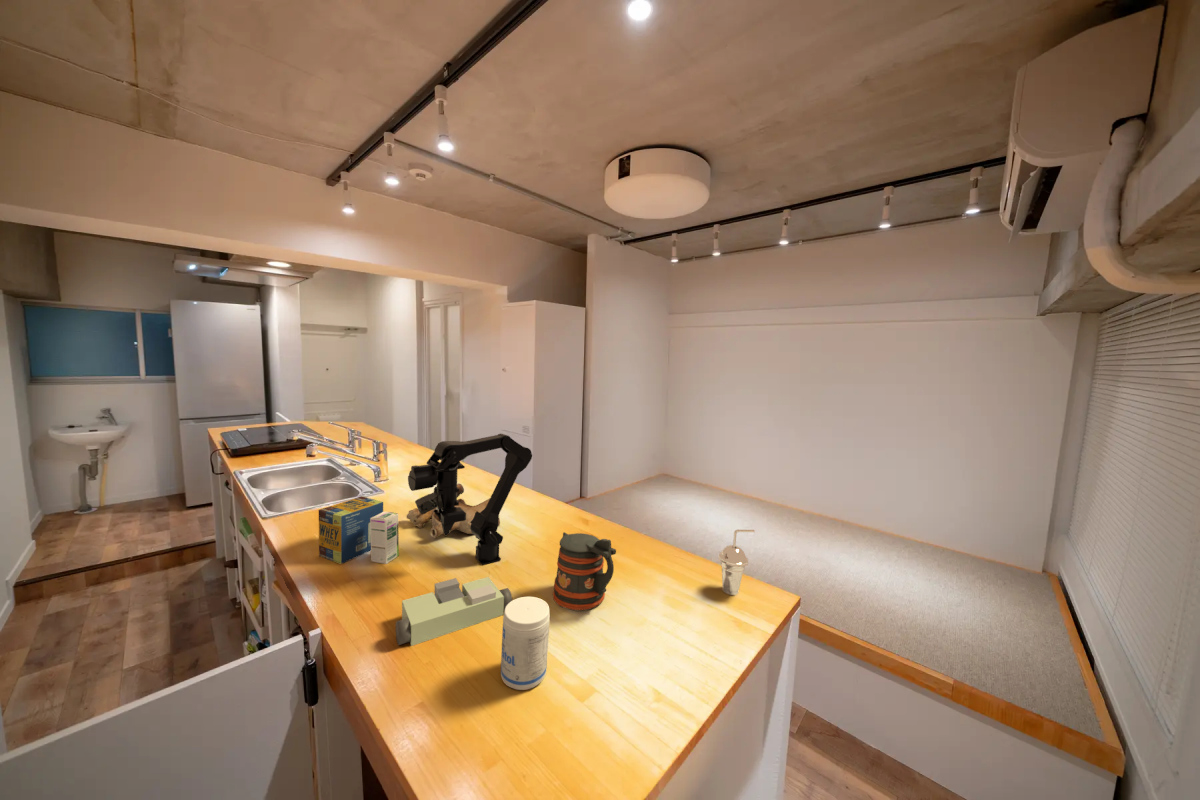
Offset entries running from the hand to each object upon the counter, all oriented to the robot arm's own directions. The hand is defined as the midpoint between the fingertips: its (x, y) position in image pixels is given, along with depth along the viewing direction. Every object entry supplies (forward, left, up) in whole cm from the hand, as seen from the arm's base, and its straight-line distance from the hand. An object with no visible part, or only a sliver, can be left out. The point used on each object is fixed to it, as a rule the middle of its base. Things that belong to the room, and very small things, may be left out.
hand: (446, 534), depth 122 cm
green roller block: (+4, +23, -12) cm, 26 cm away
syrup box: (+14, -18, -12) cm, 26 cm away
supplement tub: (-3, +49, -12) cm, 51 cm away
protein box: (+22, -29, -12) cm, 38 cm away
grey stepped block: (+4, +19, -12) cm, 23 cm away
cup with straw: (-69, +52, -12) cm, 87 cm away
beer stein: (-29, +33, -12) cm, 46 cm away
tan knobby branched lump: (-11, -33, -12) cm, 37 cm away
